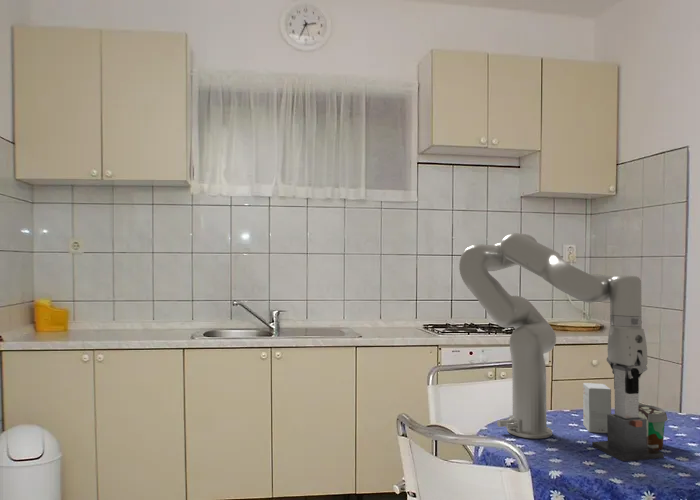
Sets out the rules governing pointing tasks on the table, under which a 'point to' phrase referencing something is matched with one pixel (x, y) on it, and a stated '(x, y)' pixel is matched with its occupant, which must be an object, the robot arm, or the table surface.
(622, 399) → the column
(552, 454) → the table surface
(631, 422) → the stand
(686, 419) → the table surface
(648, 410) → the food container
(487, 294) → the robot arm
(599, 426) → the small box
